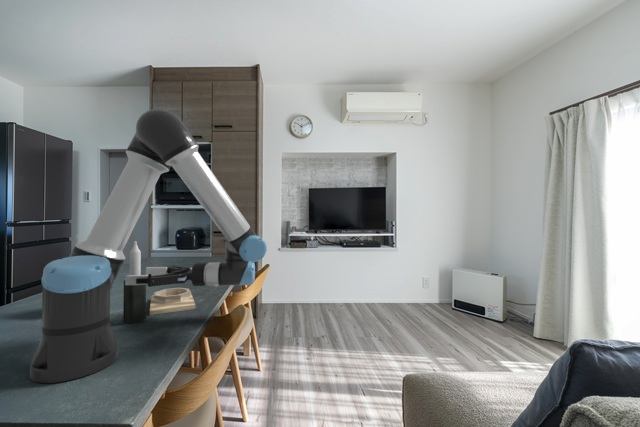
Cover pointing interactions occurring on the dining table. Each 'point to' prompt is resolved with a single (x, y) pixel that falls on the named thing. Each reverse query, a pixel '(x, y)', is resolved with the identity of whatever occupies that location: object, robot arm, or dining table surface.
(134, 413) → the dining table surface
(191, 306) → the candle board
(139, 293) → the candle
